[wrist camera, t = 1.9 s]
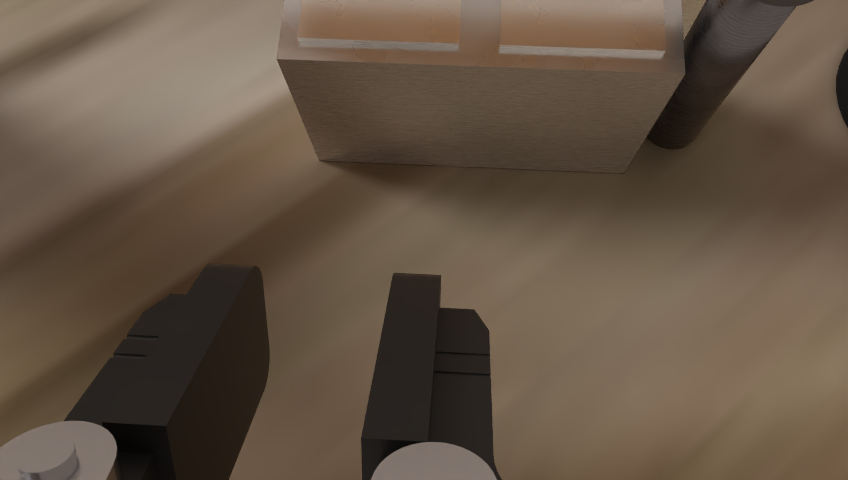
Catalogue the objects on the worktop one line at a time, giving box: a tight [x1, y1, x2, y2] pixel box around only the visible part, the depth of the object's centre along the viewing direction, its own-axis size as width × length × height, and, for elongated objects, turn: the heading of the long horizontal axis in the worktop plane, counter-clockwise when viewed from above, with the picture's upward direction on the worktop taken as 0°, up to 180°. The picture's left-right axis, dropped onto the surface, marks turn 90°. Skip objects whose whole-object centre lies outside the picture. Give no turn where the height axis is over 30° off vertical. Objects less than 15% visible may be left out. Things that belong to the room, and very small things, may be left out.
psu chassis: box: [277, 0, 796, 173], centre depth 32 cm, size 20×6×12 cm, turn 87°
